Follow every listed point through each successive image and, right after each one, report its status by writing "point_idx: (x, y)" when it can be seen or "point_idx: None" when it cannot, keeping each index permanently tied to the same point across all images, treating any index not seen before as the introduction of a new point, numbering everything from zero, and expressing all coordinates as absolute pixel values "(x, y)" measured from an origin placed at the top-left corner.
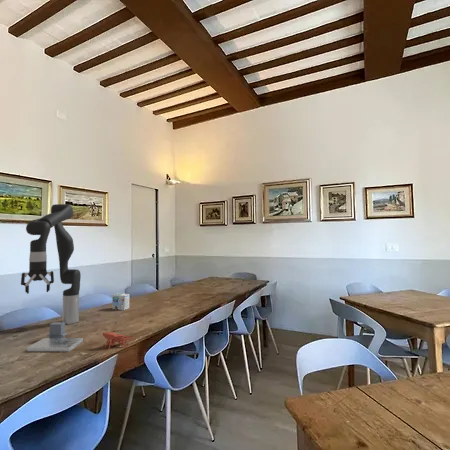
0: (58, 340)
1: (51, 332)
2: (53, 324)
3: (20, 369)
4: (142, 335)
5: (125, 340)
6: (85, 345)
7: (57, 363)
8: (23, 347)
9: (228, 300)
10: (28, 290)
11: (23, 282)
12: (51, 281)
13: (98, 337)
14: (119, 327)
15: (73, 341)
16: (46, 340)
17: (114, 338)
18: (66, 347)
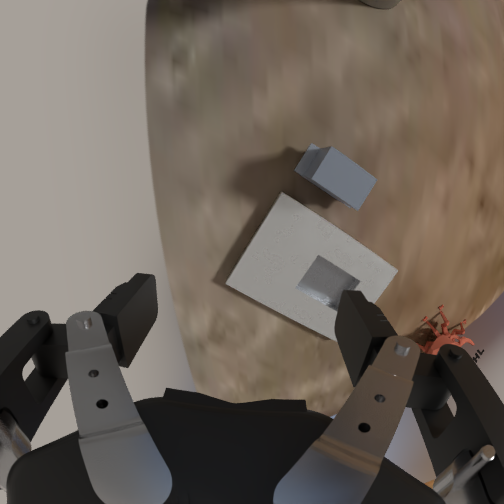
0: (327, 257)
1: (312, 181)
2: (327, 189)
3: (225, 391)
4: (500, 288)
5: (461, 328)
6: (387, 306)
7: (298, 394)
8: (213, 227)
9: None
10: (146, 331)
11: (55, 391)
12: (419, 413)
13: (437, 245)
14: (498, 171)
15: (366, 293)
16: (288, 232)
17: None
18: (335, 339)
